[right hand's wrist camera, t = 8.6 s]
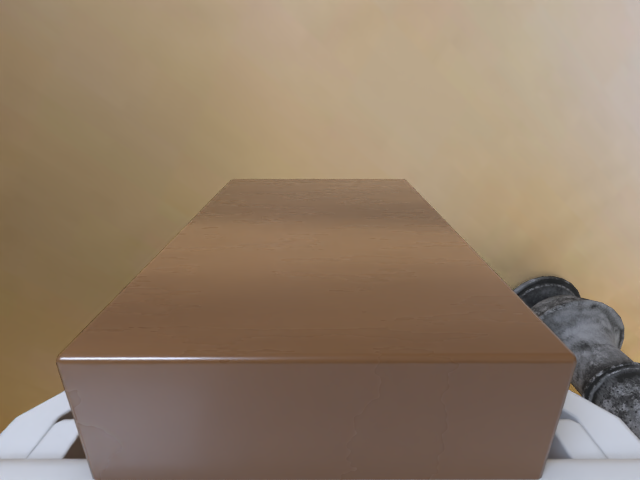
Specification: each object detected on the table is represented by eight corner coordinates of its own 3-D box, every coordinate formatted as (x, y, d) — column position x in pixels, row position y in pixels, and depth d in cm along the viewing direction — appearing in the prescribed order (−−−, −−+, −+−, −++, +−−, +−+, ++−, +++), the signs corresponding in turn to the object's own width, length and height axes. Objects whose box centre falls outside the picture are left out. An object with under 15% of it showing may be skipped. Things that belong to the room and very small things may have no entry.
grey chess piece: (603, 303, 25) (826, 471, 14) (536, 360, 27) (687, 550, 16) (543, 255, 24) (737, 399, 13) (477, 319, 26) (596, 494, 15)
